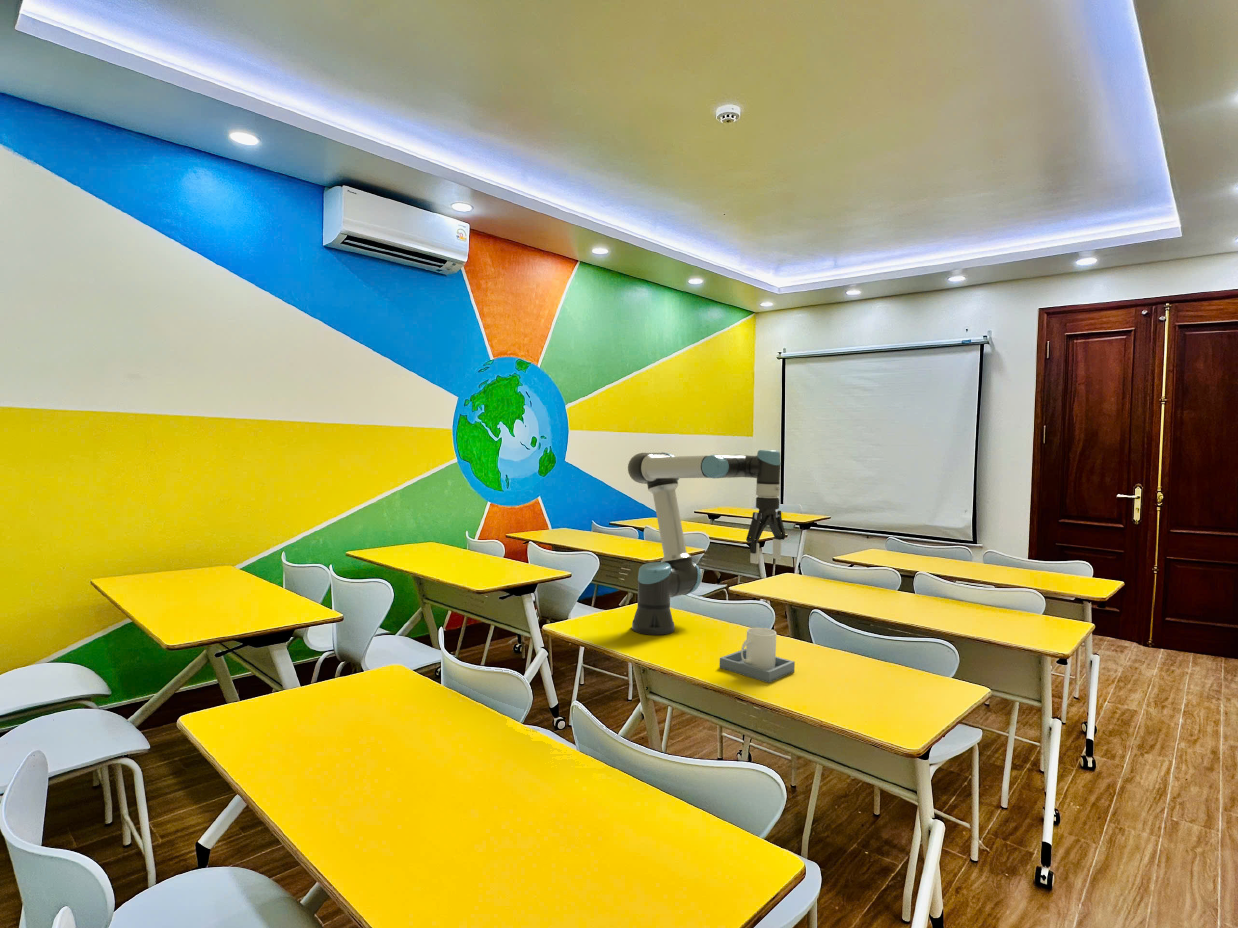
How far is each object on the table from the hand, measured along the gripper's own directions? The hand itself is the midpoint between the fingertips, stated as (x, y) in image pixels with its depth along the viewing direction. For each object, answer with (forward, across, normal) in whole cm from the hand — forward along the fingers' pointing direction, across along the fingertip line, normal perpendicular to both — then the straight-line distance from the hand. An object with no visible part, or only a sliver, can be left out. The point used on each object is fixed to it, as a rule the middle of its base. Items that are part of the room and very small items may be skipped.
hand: (765, 560), depth 221 cm
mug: (+28, -21, -11) cm, 37 cm away
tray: (+29, -21, -11) cm, 37 cm away
